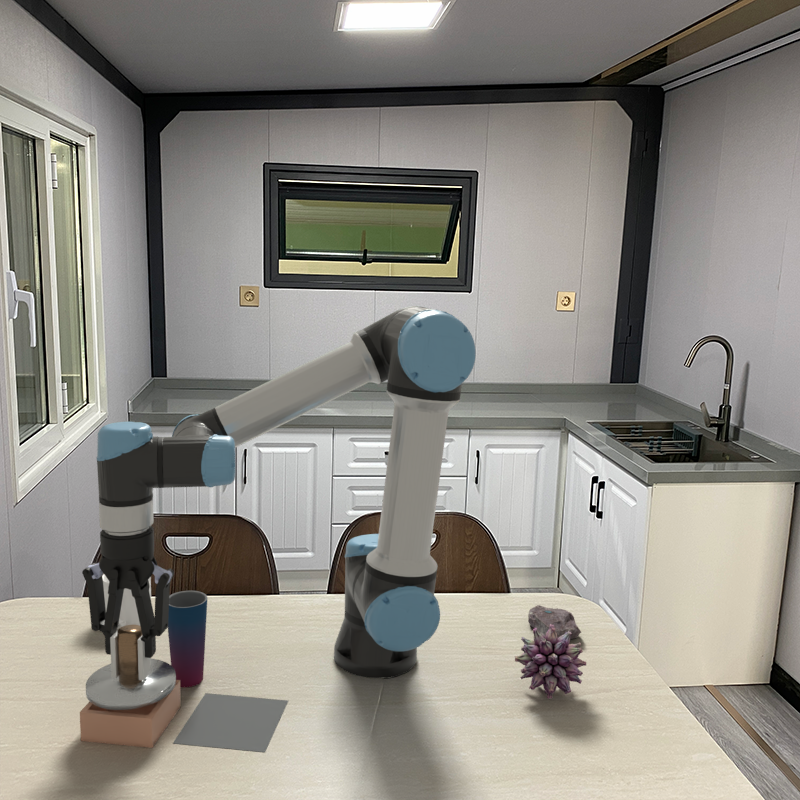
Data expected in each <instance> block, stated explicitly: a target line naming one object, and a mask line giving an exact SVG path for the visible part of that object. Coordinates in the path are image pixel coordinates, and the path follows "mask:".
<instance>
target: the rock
mask: <svg viewBox="0 0 800 800" xmlns="http://www.w3.org/2000/svg"><path fill="white" fill-rule="evenodd" d="M527 615H528V624H529V625H530V627H532V628H533V629H535V628H537V629H538V631H539V632H541V633H542V634H544V635H545V637H546V633H547V631H548V630H549V628H550V624H551V625H554V628H555V629H556V633H557V637H558V638H559V637H560V636H562V635H564V634H565V633H566V632H568V631H569V632H571V633H572V634H571V636H570V640H572V639H576V638H579V636H580V635H581V633H582V631H581V629H580V628H579V626H578V625H577V623H576V619H575V616H574V615H573V613H572V612H571V611H568V610H566V609H563V608H558V607H557V608H553V607H546V606H543V605H538V604H536V605H535V606H534V607H532V608H530V609H529V611H528V613H527Z"/></svg>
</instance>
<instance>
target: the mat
mask: <svg viewBox="0 0 800 800" xmlns="http://www.w3.org/2000/svg"><path fill="white" fill-rule="evenodd" d="M288 703H289V700H288V699H277V698H275V699H274V698H266V697H265V698H263V697H253V696H243V695H232V694H231V695H230V694H220V693H218V694H217V693H211V692H210V693H209V692H205V693H204V694H203V696H202V698H201V699H200V701H199V703H198V704H197V705H196V706H195V708H194V710H193V711H192V713H191V715H190V716H189V718H188V720H187V721H186V722H185V724H184V725H183V727H182V729H181V730H180V731H179V733H178V735H177V736H176V737H175V739H174V740H173V742H172V744H173V745H182V746H183V745H185V746H195V747H196V746H197V747H206V748H214V749H215V748H216V749H225V750H237V751H247V752H249V751H250V752H257V753H266V752H267V751H266V750H267V749H268V746H269V744H270V742H271V740H272V738H273V736H274V733H275V731H276V729H277V727H278V725H279V722H280V720H281V718H282V716H283V714H284V712H285V709H286V707H287V705H288Z"/></svg>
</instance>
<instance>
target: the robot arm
mask: <svg viewBox="0 0 800 800" xmlns="http://www.w3.org/2000/svg"><path fill="white" fill-rule="evenodd" d="M476 357H477V355H476V344H475V340H474V338H473V335H472V333H471V332H470V330H469V328H468V327H467V326H466V325H465V323H463V322H462V321H461V320H460V319H459V318H457V317H455V316H454V315H453V314H450V313H448V312H447V311H443V310H439V309H431V308H428V307H423V306H417V305H412V306H406V307H403V308H400V309H398V310H396V311H393V312H392V313H390V314H388V315H386V316H384V317H383V318H380V319H379V320H376V321H375V322H373V323H372V324H370V325H368V326H366V327H364V328H362V329H360V330H358V331H356V332H354V333H353V334H352V337H351V340H350V341H349V342H347V343H344V344H343V345H341V346H339V347H337V348H334V349H332V350H330V351H328V352H326V353H324V354H322V355H320V356H318V357H316V358H314V359H312V360H310V361H308V362H305V363H303V364H302V365H300V366H297V367H296V368H295V367H294V368H293V369H291V370H289V371H287V372H285V373H283V374H281V375H278V376H277V377H275V378H272V379H271V380H268V381H265V383H262V384H260V385H258V386H256V387H253V388H252V389H250V390H248V391H246V392H244V393H241V394H239V395H237V396H235V397H233V398H231V399H229V400H227V401H225V402H223V403H222V404H219V405H217V406H215V407H214V408H211V409H209V410H207V411H204V412H203V413H201V414H199V413H198V414H190V415H187V416H185V417H184V418H182V419H181V420H180V421H179V422H178V423H177V424H176V426H175V427H174V429H173V431H172V433H171V435H172V436H164V437H163V436H153V433H152V427H151V426H150V425H149V424H148V423H145V422H142V421H141V422H139V421H138V422H137V421H117V422H112V423H108V424H105V425H103V426H102V427H101V428H100V429H99V430H98V433H97V447H96V448H97V450H96V451H97V453H96V455H97V456H96V464H97V466H96V467H97V469H96V470H97V485H98V488H97V489H98V501H99V502H98V505H99V506H98V507H99V510H98V511H99V512H98V513H99V514H98V515H99V517H98V519H99V528H100V529H101V531H100V533H99V541H100V544H99V547H100V554H101V557H100V559H99V561H98V562H97V563H95V562H92V563H91V564H89V565H88V566H86V567H85V568H84V569H82V576H83V578H84V580H85V582H86V585H87V595H88V604H89V605H88V606H89V615H90V617H89V618H90V624H91V626H90V627H91V630H92V631H93V632H98V631H99V632H100V633H102V634H103V635H104V650H105V654H106V655H108V656H109V655H110V664H111V676H112V678H117V677H118V676H119V666H118V636H117V631H118V629H117V628H118V627H119V626H120V624H119V617H120V611H121V605H122V598H123V592H124V588H127V589H130V590H131V592H132V596H133V597H134V598H135V603H136V607H137V612H138V617H139V622H140V626H141V631H142V636H141V637H140V638H139V639H138V672H139V680H144V679H145V678H146V677H147V676H148V674H149V673H150V672H151V659H152V657H153V656H154V655H156V651H157V643H156V642H157V637H160V636H162V634H163V633H164V632H165V631H166V630H168V616H169V596H170V588H171V587H170V586H171V581H172V579H173V577H174V575H175V571H174V569H172V568H167V569H165V568H162V567H161V566H159V565H158V563H157V560H156V558H155V528H154V527H153V526H152V525H153V524H154V522H155V521H154V493H153V490H154V489H165V488H167V489H168V488H169V489H170V488H202V487H204V488H206V487H208V488H213V487H218V486H229V485H231V484H232V483H233V482H234V481H235V478H236V448H238V447H240V446H243V445H244V444H246V443H248V442H251V441H252V440H254V439H256V438H259V437H261V436H263V435H265V434H266V433H268V432H271V431H273V430H275V429H277V428H279V427H281V426H283V425H285V424H286V423H287V424H288V423H289V422H291V421H293V420H296V419H297V418H299V417H302V416H303V415H305V414H308V413H309V412H311V411H313V410H316V409H317V408H320V407H322V406H324V405H326V404H328V403H330V402H332V401H334V400H335V399H338V398H340V397H342V396H345V395H346V394H348V393H350V392H352V391H354V390H357V389H359V388H361V387H363V386H364V385H366V384H369V383H372V384H373V383H374V384H376V385H380V384H383V383H384V382H386V381H387V384H386V394H387V395H388V396H389V398H390V399H391V400H392V401H393V403H394V404H393V405H394V406H393V414H392V423H391V430H390V431H391V432H390V437H389V438H390V440H389V446H388V455H387V462H386V463H387V464H386V471H385V480H384V487H383V488H384V489H383V495H382V496H383V497H382V505H381V511H380V520H379V529H378V533H371V534H370V533H369V534H361V535H358V536H354V537H351V538H350V539H349V540H348V541H347V543H346V546H345V554H344V558H345V565H344V567H345V568H344V569H345V575H344V577H345V578H344V580H345V581H344V618H343V622H342V624H341V627H340V629H339V631H338V634H337V638H336V640H335V643H334V647H333V660H334V662H335V664H336V665H337V666H338V667H339V668H340V669H342V670H343V671H344V672H347V674H348V673H349V674H351V675H354V676H359V677H363V678H370V679H372V678H374V679H376V678H377V679H381V678H382V679H390V678H394V677H397V676H400V675H403V674H405V673H407V672H409V671H410V670H411V669H413V667H414V666H415V665H416V664H417V660H418V659H417V656H418V648H419V647H421V646H423V644H424V643H426V642H427V641H428V640H430V639H431V638H432V637H433V636H434V634H435V633H436V631H437V629H438V627H439V624H440V621H441V609H440V605H439V600H438V599H437V597H436V596H435V589H436V581H437V571H438V563H437V561H436V559H434V558H433V557H432V556H431V547H432V539H433V538H432V537H433V532H434V525H435V524H434V523H435V516H436V509H437V501H438V496H439V495H438V494H439V486H440V479H441V469H442V464H443V458H444V457H443V455H444V448H445V441H446V440H445V439H446V433H447V427H448V417H449V411H450V410H451V409H452V408H453V407H454V406H456V405H458V403H459V402H460V400H461V394H462V388H463V387H462V386H463V383H464V382H465V381H466V380H467V379H468V377H470V375H471V373H472V371H473V369H474V366H475V363H476ZM103 575H105V576H106V577H107V579H108V580H109V588H108V594H109V597H108V603H107V610H106V608H105V598H104V587H103V578H102V576H103ZM152 575H154V583H155V584H156V586H155V591H154V592H155V593H154V595H155V597H154V609H153V604H152V597H151V598H150V593H149V587H150V586H149V581H148V579H149V578H150V577H151V578H152ZM118 624H119V625H118Z"/></svg>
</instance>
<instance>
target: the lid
mask: <svg viewBox="0 0 800 800" xmlns="http://www.w3.org/2000/svg"><path fill="white" fill-rule="evenodd" d="M117 630H118V631H117V636H118V666H119V676H118V677H117V678H112V676H111V663H109V664H106V665H104V666H102V667H101V668H99V669H97V670H95V671H94V672H93V673H91V675H89V677H88V678H87V680H86V682H85V696H86V699H87V700H88V702H89V701H90V702H91V703H92V704H94V705H96V706H98V707H101V708H104V709H110V710H128V709H135V708H140V707H144V706H147V705H150V704H153V703H155V702H157V701H159V700H161V699H163V698H164V697H166V696H167V695H168V694H169V693H170V692H171V691H172V690H173V689H174V687H175V684H176V673H175V670H174V668H173V667H172V666H171V663H168V662H166V661H164V660H161V659H157V658H151V672H150V673H149V674H148V676H147V677H146V678H145V679H144V680H139V672H138V639H139V638H140V637H141V636H142V631H141V626H139V625H126V626H123V627H121V628H119V629H117Z"/></svg>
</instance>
